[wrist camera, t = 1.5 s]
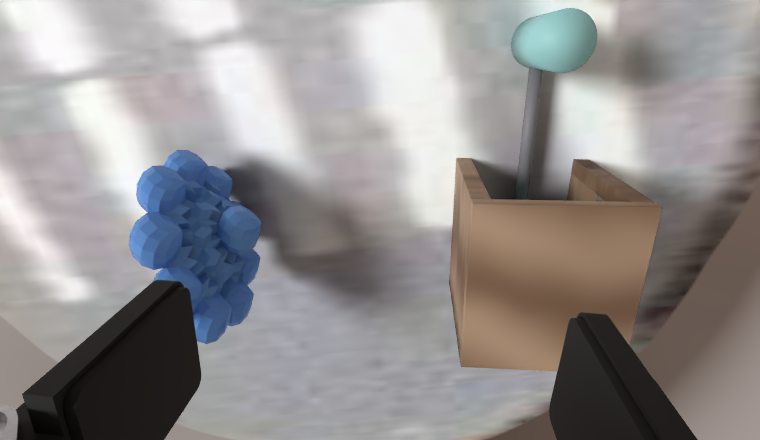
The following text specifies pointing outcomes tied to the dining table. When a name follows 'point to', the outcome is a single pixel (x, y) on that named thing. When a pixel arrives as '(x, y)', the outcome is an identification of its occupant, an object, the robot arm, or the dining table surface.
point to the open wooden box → (544, 265)
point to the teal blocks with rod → (547, 66)
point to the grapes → (198, 239)
